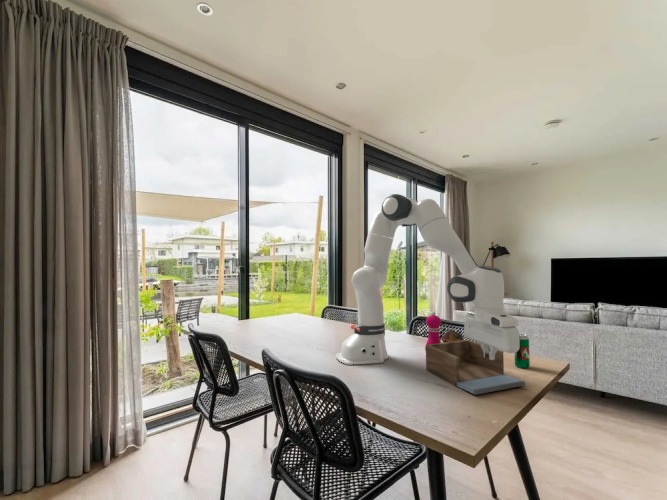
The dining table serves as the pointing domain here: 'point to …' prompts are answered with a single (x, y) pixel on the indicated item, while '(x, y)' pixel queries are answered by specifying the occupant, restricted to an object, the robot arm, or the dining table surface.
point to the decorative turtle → (452, 336)
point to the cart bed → (462, 361)
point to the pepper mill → (433, 329)
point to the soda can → (523, 353)
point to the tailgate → (490, 384)
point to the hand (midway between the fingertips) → (489, 358)
